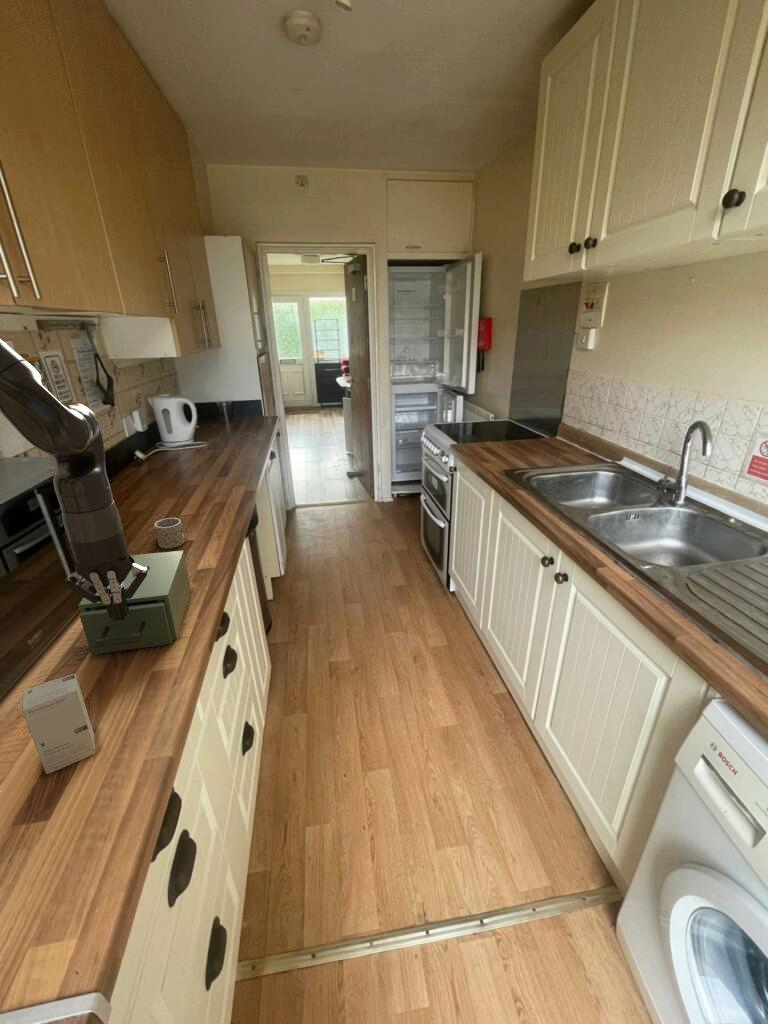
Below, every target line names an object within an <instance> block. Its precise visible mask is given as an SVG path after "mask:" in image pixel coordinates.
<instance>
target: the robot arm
mask: <svg viewBox="0 0 768 1024" xmlns="http://www.w3.org/2000/svg"><path fill="white" fill-rule="evenodd" d="M42 381H43V379H42V376H41V374H40V372H38V370H36V368H35V367H34V366H33V365H32V364H31V363H30V362H29V361H27V360H26V359H25V358H24V357H23V356H22V355H20V354H19V353H18V352H17V351H16V350H15V349H13V347H11V346H10V345H9V344H8V343H7V342H5V341H4V340H3V339H2V338H1V337H0V413H1V414H2V416H3V417H4V418H5V419H6V420H7V421H8V423H10V425H12V427H13V428H14V429H15V430H16V431H17V432H18V433H19V434H20V436H22V438H24V439H25V440H26V441H27V442H28V443H29V444H31V446H33V447H35V448H36V449H38V450H39V451H41V452H42V453H45V454H47V455H48V456H52V457H53V458H54V459H55V464H56V465H55V466H56V468H55V469H56V470H55V473H54V475H53V487H54V491H55V494H56V498H57V501H58V504H59V507H60V511H61V516H62V524H63V527H64V533H65V535H66V536H67V540H68V543H69V546H70V550H71V552H72V556H73V559H74V561H75V563H76V565H75V568H74V570H75V571H74V572H71V573H69V575H68V576H67V577H66V579H65V580H64V581H63V585H64V587H66V588H68V589H70V590H72V591H73V592H74V593H76V594H77V595H79V596H81V597H82V598H86V599H87V600H89V601H90V602H92V603H97V602H103V603H104V604H105V605H106V608H107V611H108V615H109V617H110V618H113V620H114V621H118V620H124V618H125V617H126V616H127V614H128V611H129V607H128V604H127V600H126V599H130V598H132V597H133V595H134V594H135V592H136V591H137V589H138V588H139V586H140V585H141V583H142V582H143V581H144V579H145V578H146V576H147V574H148V572H149V570H150V567H149V566H148V565H144V566H143V567H142V566H140V565H138V564H135V563H134V559H133V558H132V557H131V556H130V555H131V554H130V552H129V546H128V543H127V542H128V541H127V539H126V535H125V531H124V527H123V524H122V519H121V515H120V512H119V509H118V507H117V505H116V502H115V500H114V494H113V491H112V487H111V483H110V479H109V477H108V474H107V468H106V453H105V445H104V444H105V443H104V437H103V432H102V427H101V425H100V421H99V420H98V417H97V416H96V414H95V413H94V412H93V411H92V410H91V409H90V408H89V407H87V406H85V404H82V403H79V402H76V401H67V400H66V401H59V400H58V399H57V398H56V397H55V396H54V394H52V393H51V392H50V391H49V390H48V389H47V388H46V387H45V386H44V385H43V384H42V383H43V382H42ZM131 570H132V572H133V574H132V576H133V578H134V580H133V581H132V583H131V584H130V586H129V587H128V588H127V589H125V585H124V584H125V579H126V577H127V575H128V574H129V572H130V571H131Z"/></svg>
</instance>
